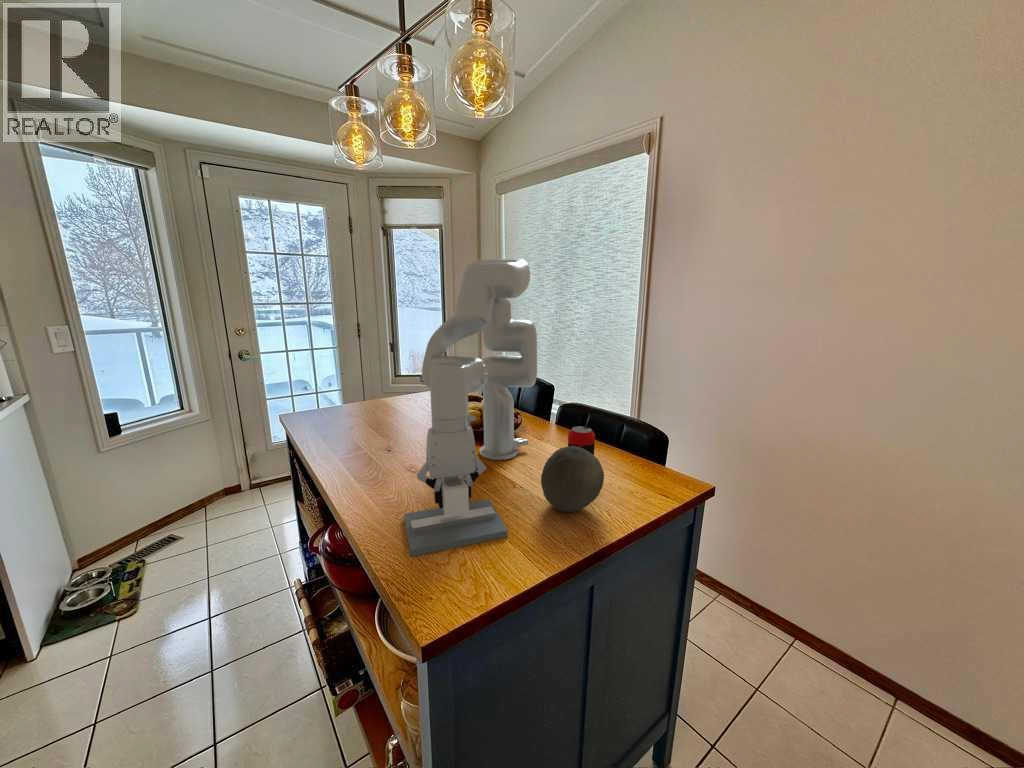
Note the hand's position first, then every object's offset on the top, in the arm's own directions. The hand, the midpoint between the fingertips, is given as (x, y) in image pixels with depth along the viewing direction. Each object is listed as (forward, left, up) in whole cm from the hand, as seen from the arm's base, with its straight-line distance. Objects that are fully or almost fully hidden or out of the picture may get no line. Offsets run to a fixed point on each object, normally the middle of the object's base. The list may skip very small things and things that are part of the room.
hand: (453, 502), depth 86 cm
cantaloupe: (-28, +1, -6) cm, 29 cm away
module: (0, 0, -1) cm, 1 cm away
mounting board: (0, 0, -6) cm, 6 cm away
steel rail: (0, 0, -5) cm, 5 cm away
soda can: (-41, -18, -6) cm, 45 cm away
